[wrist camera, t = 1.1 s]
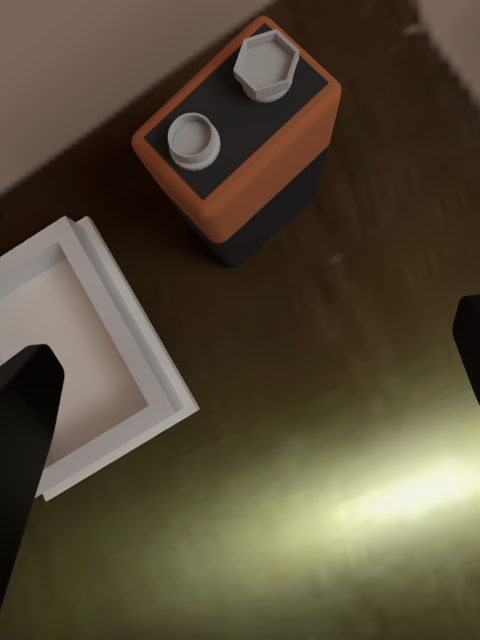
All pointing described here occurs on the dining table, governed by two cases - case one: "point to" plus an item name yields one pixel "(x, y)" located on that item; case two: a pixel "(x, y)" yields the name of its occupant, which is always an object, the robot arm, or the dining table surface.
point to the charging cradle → (88, 349)
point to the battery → (243, 140)
